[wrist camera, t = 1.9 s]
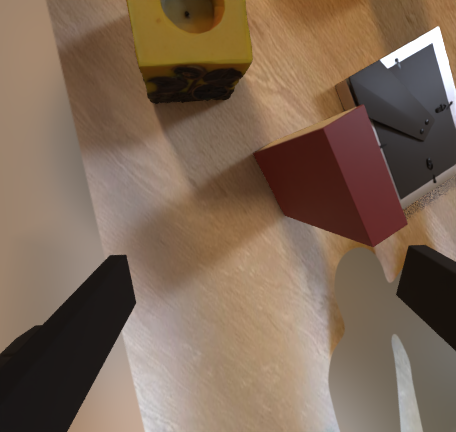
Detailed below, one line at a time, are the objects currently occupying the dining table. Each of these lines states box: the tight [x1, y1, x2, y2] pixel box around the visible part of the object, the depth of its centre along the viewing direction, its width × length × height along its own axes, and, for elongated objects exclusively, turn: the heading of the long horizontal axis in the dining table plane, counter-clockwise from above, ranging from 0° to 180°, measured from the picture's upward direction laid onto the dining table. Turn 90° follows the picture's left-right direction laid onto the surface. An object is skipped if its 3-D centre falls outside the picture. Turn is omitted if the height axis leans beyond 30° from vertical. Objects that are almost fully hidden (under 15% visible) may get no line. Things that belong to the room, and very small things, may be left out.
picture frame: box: [335, 26, 456, 210], centre depth 33 cm, size 16×3×21 cm
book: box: [253, 104, 408, 247], centre depth 24 cm, size 10×4×16 cm, turn 30°
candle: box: [126, 0, 253, 104], centre depth 23 cm, size 10×10×10 cm
